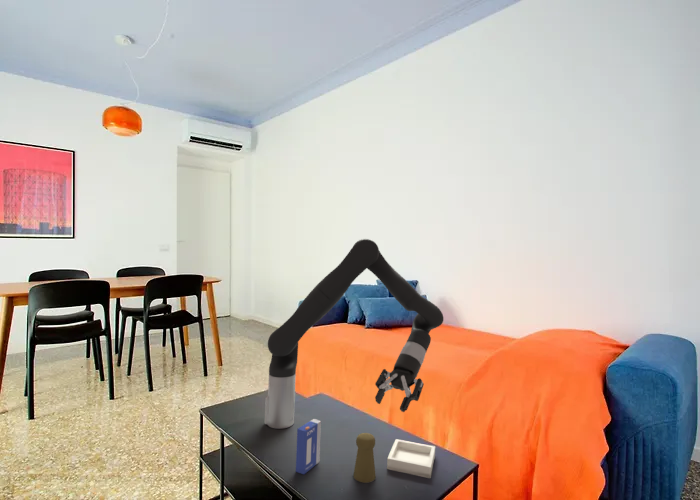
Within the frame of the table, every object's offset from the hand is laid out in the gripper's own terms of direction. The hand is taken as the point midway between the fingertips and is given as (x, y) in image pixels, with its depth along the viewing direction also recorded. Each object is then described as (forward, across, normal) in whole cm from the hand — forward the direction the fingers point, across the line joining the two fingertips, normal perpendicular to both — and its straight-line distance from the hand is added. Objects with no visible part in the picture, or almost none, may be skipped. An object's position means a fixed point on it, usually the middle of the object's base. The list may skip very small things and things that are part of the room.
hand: (389, 406), depth 112 cm
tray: (+9, +6, +13) cm, 17 cm away
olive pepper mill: (+19, 0, +3) cm, 19 cm away
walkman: (+24, -14, -2) cm, 28 cm away
